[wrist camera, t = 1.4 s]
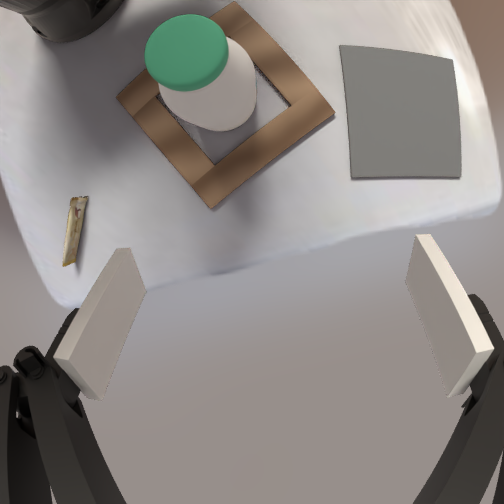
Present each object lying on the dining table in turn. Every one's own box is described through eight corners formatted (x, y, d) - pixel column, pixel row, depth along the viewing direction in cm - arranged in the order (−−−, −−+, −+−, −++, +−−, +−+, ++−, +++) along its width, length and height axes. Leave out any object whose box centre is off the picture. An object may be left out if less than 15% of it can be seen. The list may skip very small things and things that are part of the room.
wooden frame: (117, 97, 32) (114, 97, 32) (234, 2, 29) (234, 0, 28) (211, 208, 37) (210, 209, 36) (334, 112, 33) (336, 112, 32)
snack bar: (77, 261, 39) (67, 269, 37) (69, 258, 39) (58, 265, 36) (89, 195, 36) (78, 199, 34) (80, 192, 36) (68, 196, 34)
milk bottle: (260, 127, 34) (265, 104, 15) (192, 136, 34) (122, 129, 15) (252, 63, 31) (248, -20, 12) (184, 73, 32) (113, 9, 13)
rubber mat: (339, 46, 30) (340, 45, 30) (451, 60, 30) (452, 59, 29) (350, 177, 35) (351, 177, 35) (459, 176, 35) (461, 176, 34)
